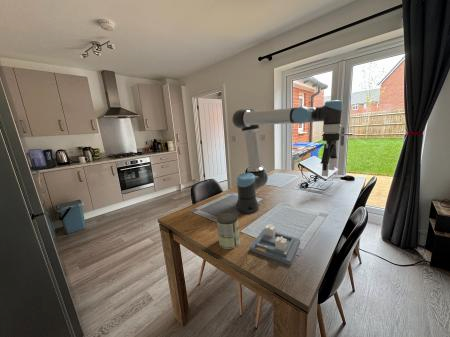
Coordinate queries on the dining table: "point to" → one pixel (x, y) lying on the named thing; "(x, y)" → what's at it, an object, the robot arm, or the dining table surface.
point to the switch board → (267, 247)
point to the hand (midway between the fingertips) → (328, 172)
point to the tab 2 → (281, 244)
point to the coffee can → (228, 230)
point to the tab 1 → (270, 230)
